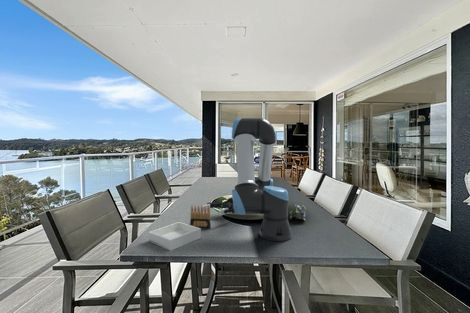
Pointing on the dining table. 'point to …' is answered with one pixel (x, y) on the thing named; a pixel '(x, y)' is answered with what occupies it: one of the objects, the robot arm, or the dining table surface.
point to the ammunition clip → (200, 218)
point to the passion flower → (298, 211)
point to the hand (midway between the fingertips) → (210, 210)
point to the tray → (174, 235)
